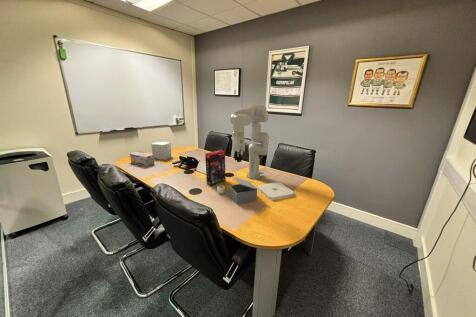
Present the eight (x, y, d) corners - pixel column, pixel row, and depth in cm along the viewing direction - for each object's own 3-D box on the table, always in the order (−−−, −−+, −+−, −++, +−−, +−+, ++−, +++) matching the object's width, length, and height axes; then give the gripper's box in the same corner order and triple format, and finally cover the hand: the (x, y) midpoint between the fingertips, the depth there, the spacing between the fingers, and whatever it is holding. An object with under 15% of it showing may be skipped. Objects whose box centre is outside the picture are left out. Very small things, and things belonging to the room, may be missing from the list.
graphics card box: (210, 186, 160) (210, 155, 152) (205, 184, 164) (204, 153, 156) (225, 180, 172) (225, 151, 164) (220, 178, 176) (220, 149, 168)
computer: (256, 188, 159) (256, 185, 158) (278, 184, 168) (278, 181, 167) (270, 201, 140) (270, 198, 139) (295, 196, 148) (295, 192, 147)
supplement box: (171, 156, 237) (170, 142, 231) (165, 160, 224) (164, 144, 219) (159, 155, 240) (157, 141, 235) (152, 158, 228) (150, 143, 223)
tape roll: (223, 190, 155) (223, 184, 153) (225, 193, 149) (226, 187, 148) (216, 191, 152) (216, 185, 151) (218, 194, 147) (218, 189, 146)
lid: (248, 182, 150) (248, 181, 150) (257, 189, 138) (257, 188, 138) (231, 177, 143) (232, 176, 143) (239, 184, 131) (240, 183, 131)
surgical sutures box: (154, 164, 209) (153, 154, 206) (145, 167, 201) (144, 157, 197) (140, 160, 222) (139, 151, 218) (131, 162, 213) (129, 153, 210)
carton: (247, 191, 153) (248, 182, 150) (256, 199, 140) (257, 189, 138) (229, 195, 146) (229, 185, 144) (236, 204, 134) (236, 193, 132)
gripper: (249, 136, 122) (248, 164, 127) (238, 132, 136) (238, 157, 142) (238, 137, 119) (237, 165, 124) (228, 132, 133) (228, 158, 139)
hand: (237, 160), depth 133 cm, fingers open, 3 cm apart
